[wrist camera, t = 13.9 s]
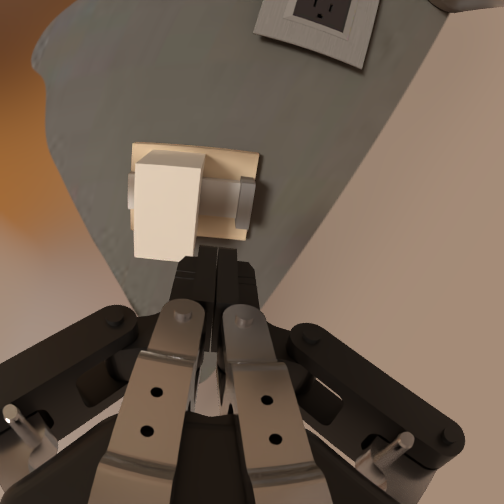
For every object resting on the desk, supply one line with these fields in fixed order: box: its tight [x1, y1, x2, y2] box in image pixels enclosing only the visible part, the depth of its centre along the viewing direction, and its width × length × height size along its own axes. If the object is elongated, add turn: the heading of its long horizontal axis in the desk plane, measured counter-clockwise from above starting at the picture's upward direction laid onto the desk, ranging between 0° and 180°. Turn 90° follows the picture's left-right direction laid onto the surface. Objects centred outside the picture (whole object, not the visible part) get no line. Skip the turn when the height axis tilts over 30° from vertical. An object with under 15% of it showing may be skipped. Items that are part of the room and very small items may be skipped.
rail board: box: [128, 142, 259, 240], centre depth 28 cm, size 9×12×3 cm
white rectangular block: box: [134, 149, 206, 262], centre depth 26 cm, size 8×5×6 cm, turn 171°
